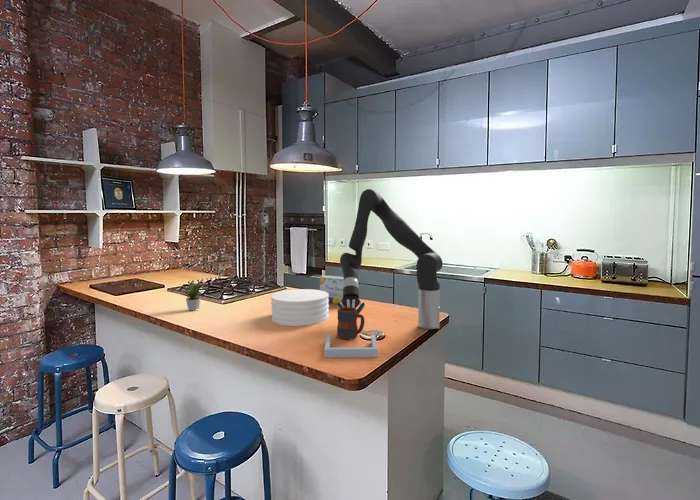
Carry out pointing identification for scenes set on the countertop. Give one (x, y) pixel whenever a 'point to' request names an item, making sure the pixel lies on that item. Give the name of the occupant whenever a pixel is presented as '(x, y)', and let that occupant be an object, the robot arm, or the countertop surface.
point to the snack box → (332, 288)
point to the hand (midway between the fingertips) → (351, 322)
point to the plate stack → (300, 307)
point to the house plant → (193, 296)
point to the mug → (348, 323)
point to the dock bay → (351, 350)
